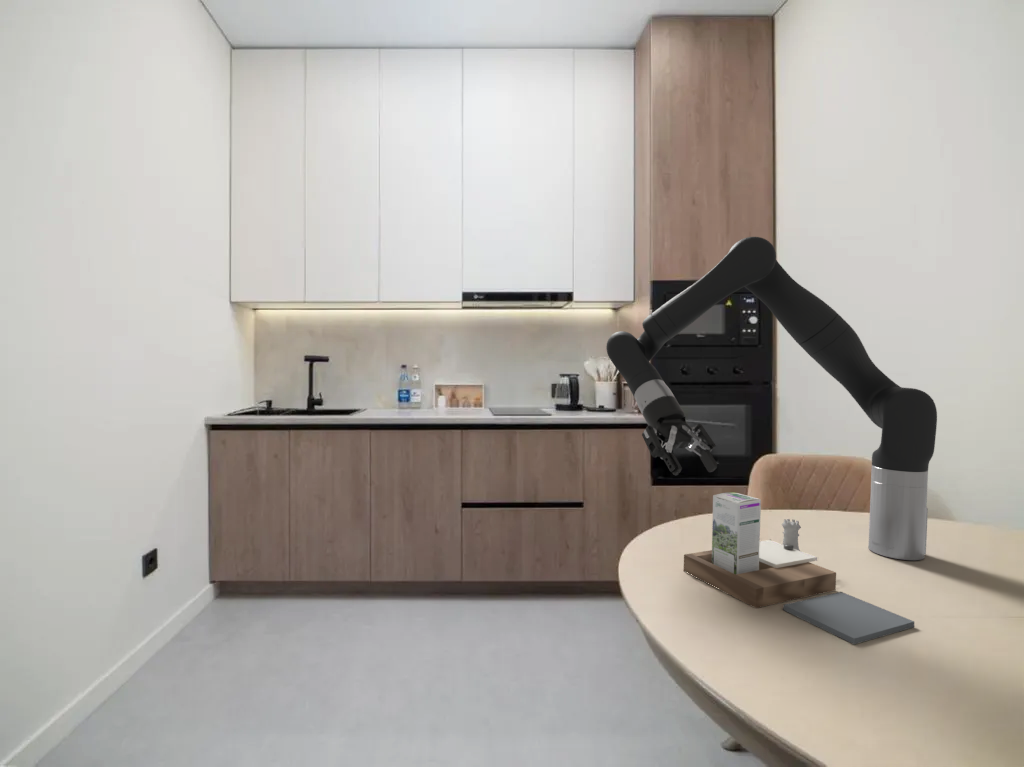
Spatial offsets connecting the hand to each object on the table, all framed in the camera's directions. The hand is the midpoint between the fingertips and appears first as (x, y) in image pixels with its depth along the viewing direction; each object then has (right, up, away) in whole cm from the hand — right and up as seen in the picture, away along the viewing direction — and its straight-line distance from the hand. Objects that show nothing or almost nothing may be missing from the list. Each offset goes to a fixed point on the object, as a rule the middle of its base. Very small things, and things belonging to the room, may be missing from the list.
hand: (696, 471), depth 104 cm
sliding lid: (+12, -14, -5) cm, 19 cm away
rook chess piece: (+18, -17, 0) cm, 25 cm away
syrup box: (+4, -18, -9) cm, 20 cm away
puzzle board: (+7, -17, -9) cm, 21 cm away
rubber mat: (+14, -18, -23) cm, 33 cm away
